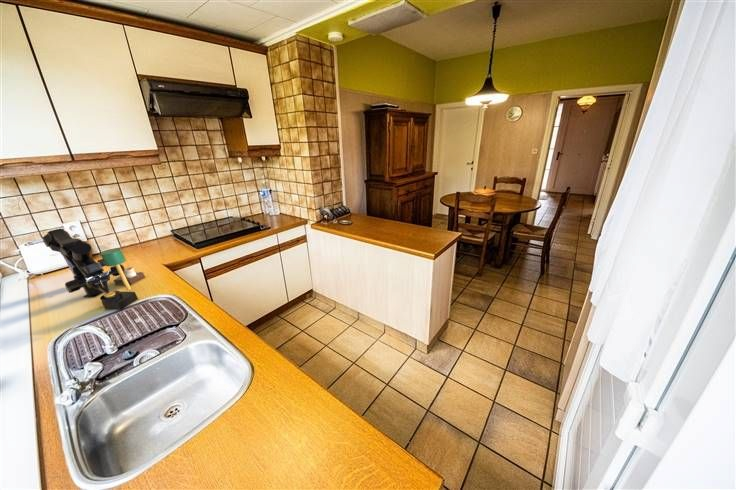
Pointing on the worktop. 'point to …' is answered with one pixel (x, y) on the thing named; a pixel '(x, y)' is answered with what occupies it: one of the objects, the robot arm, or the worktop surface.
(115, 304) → the lamp base
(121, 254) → the lamp
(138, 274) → the dimmer panel
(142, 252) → the worktop surface
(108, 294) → the lamp button
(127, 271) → the dimmer
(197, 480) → the worktop surface
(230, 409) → the worktop surface
